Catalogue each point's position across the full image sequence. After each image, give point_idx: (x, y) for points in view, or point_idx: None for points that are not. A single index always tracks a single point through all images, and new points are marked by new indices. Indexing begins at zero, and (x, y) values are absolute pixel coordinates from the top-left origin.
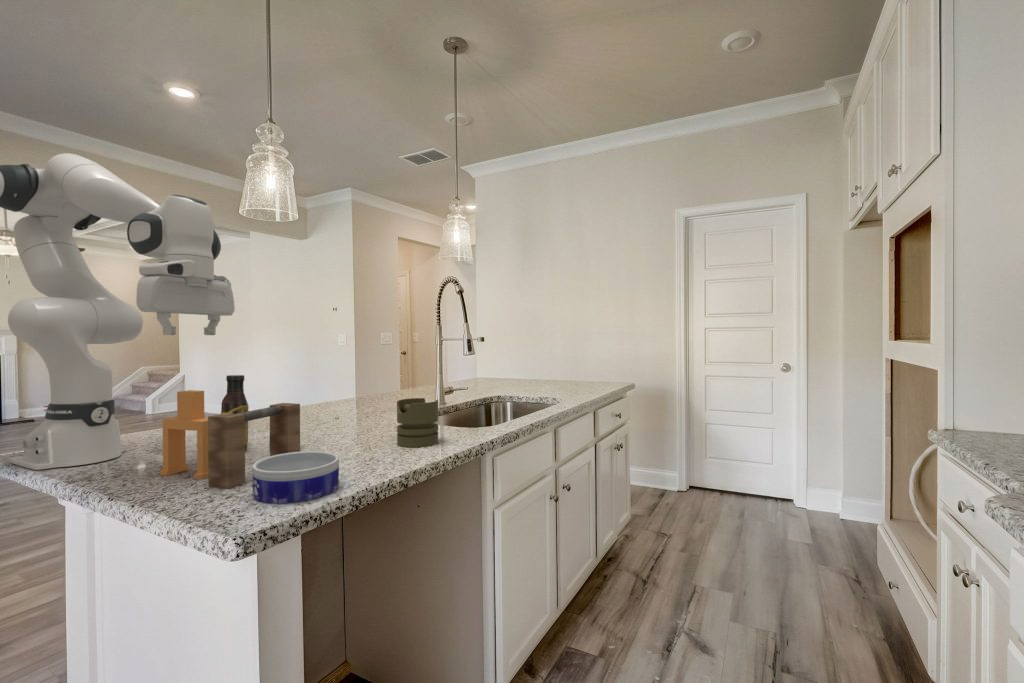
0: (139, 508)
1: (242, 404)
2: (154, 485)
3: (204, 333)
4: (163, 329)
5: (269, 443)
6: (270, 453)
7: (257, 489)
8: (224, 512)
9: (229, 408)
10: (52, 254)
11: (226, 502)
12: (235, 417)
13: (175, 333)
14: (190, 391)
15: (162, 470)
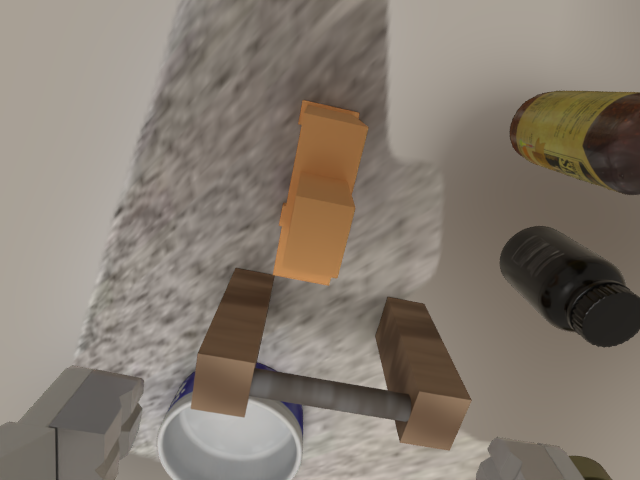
0: (110, 233)
1: (621, 191)
2: (229, 153)
3: (501, 447)
4: (41, 404)
5: (530, 236)
6: (391, 312)
7: (174, 398)
8: (128, 367)
9: (593, 153)
10: None
11: (167, 345)
12: (215, 409)
13: (130, 440)
14: (312, 241)
15: (302, 107)
